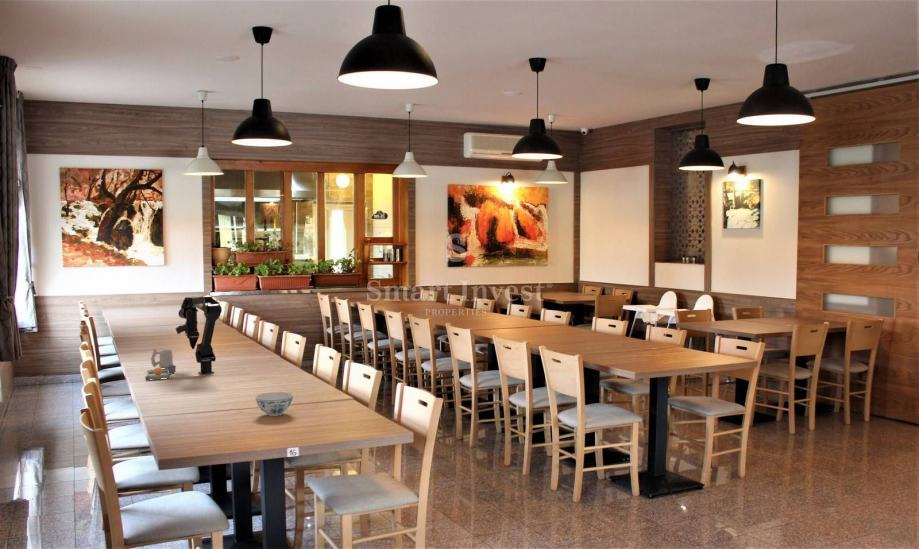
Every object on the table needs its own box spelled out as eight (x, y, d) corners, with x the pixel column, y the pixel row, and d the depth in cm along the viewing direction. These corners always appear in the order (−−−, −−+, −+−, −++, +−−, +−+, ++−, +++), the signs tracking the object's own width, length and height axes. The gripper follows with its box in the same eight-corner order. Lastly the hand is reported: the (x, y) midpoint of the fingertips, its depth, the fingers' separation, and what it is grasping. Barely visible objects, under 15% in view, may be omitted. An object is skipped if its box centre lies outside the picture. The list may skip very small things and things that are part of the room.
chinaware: (296, 410, 328) (296, 391, 328) (289, 418, 313) (289, 399, 313) (260, 410, 328) (259, 392, 327) (251, 418, 313) (251, 399, 312)
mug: (175, 368, 435) (174, 347, 435) (152, 370, 429) (151, 348, 429) (172, 366, 442) (171, 345, 441) (150, 368, 436) (149, 347, 435)
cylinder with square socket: (177, 372, 421) (177, 365, 421) (167, 374, 418) (167, 366, 417) (173, 371, 425) (172, 364, 425) (163, 372, 421) (163, 365, 421)
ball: (163, 375, 407) (163, 367, 407) (155, 375, 405) (155, 368, 405) (160, 374, 410) (160, 366, 410) (152, 375, 408) (152, 367, 408)
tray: (169, 379, 403) (169, 374, 403) (147, 380, 399) (147, 375, 399) (168, 374, 416) (168, 370, 416) (147, 376, 412) (146, 371, 412)
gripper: (175, 318, 435) (175, 346, 436) (177, 322, 418) (177, 351, 419) (196, 317, 440) (196, 345, 440) (199, 321, 422) (199, 349, 423)
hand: (192, 348), depth 431 cm, fingers open, 9 cm apart
